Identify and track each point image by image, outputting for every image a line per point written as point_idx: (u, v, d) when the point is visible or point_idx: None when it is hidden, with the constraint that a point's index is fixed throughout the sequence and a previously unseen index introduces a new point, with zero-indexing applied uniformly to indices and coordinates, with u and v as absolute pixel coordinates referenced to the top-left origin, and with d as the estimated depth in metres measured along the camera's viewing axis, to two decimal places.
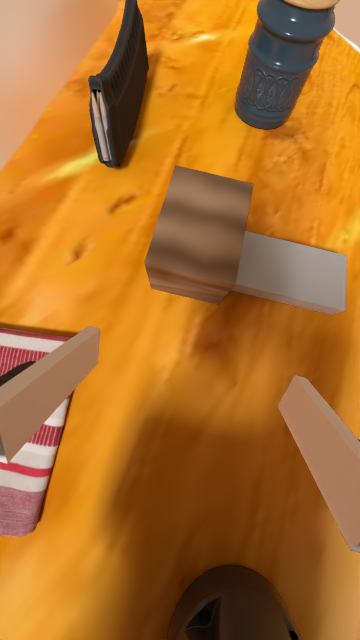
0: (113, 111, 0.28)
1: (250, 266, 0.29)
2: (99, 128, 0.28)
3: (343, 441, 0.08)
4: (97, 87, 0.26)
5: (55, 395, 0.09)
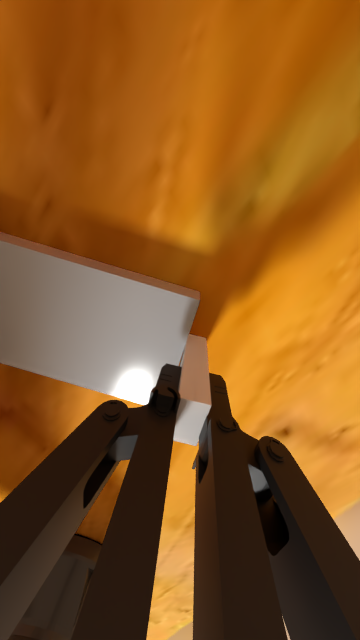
0: None
1: None
2: None
3: (195, 371, 0.10)
4: None
5: None
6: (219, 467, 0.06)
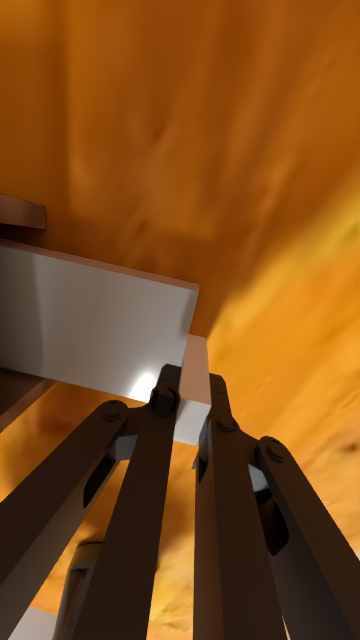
0: None
1: None
2: None
3: (195, 371, 0.10)
4: None
5: None
6: (219, 467, 0.06)
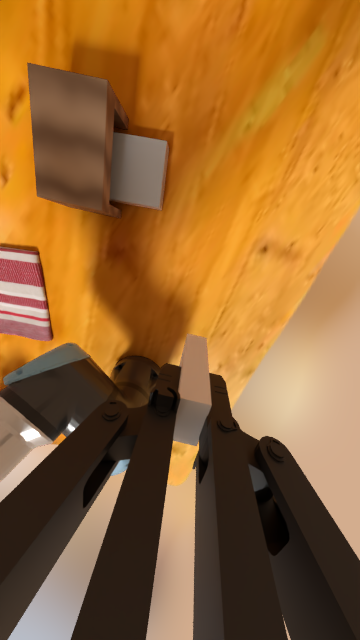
0: None
1: None
2: None
3: (196, 371, 0.10)
4: None
5: None
6: (219, 467, 0.06)
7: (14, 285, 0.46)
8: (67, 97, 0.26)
